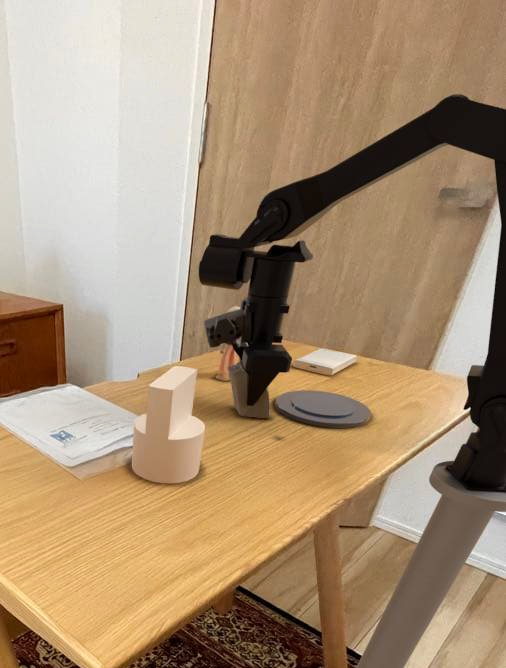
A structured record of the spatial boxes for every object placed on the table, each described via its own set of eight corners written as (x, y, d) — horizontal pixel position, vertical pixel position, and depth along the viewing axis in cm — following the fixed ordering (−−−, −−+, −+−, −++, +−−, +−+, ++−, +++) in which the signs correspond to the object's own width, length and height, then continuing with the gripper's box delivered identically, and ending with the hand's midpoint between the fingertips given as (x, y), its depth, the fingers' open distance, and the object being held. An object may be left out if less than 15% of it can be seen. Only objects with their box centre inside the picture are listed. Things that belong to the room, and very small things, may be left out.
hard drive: (320, 347, 108) (294, 358, 101) (357, 355, 104) (333, 367, 96) (318, 355, 109) (292, 367, 102) (355, 363, 105) (331, 376, 97)
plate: (351, 396, 89) (353, 390, 88) (383, 430, 76) (386, 423, 76) (267, 392, 89) (268, 386, 89) (286, 426, 77) (287, 419, 77)
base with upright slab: (147, 446, 71) (153, 361, 64) (207, 460, 67) (221, 372, 60) (120, 473, 64) (123, 381, 57) (185, 489, 61) (197, 395, 54)
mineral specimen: (254, 393, 86) (269, 351, 80) (272, 424, 81) (290, 381, 74) (214, 394, 85) (226, 351, 79) (229, 426, 79) (244, 382, 73)
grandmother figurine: (233, 383, 93) (245, 311, 86) (212, 381, 94) (223, 309, 86) (236, 371, 99) (249, 303, 91) (217, 369, 100) (228, 301, 92)
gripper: (206, 281, 79) (193, 377, 89) (219, 306, 65) (202, 418, 74) (276, 283, 79) (255, 380, 88) (305, 309, 64) (277, 422, 73)
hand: (246, 398), depth 81 cm, fingers closed on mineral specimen, 6 cm apart
